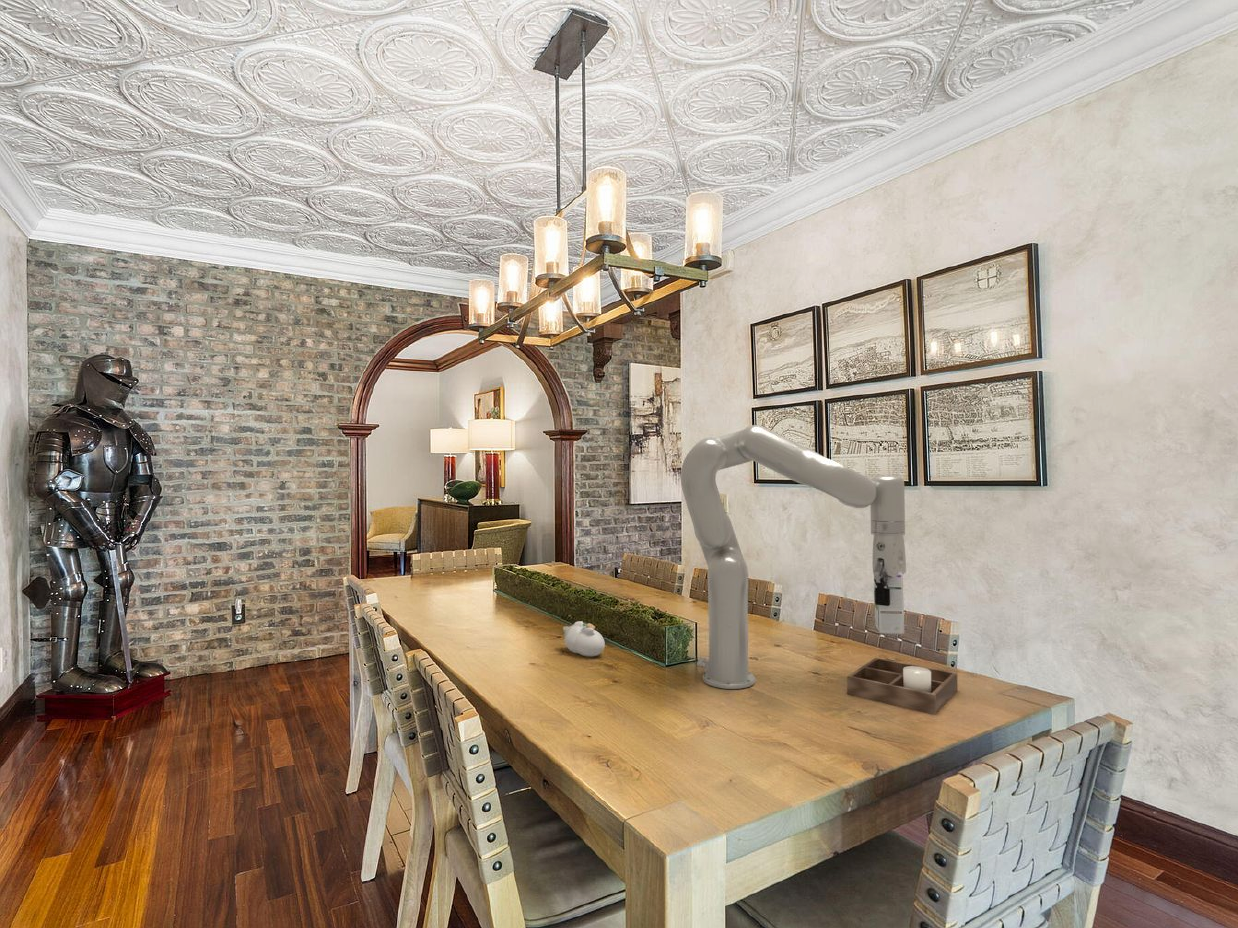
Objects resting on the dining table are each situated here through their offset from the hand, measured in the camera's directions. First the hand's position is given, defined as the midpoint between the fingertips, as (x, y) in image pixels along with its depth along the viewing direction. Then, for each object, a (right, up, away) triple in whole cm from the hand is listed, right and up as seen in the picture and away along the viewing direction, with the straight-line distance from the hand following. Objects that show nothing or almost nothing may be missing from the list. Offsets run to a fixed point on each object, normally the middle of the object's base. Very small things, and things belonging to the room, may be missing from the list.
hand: (888, 601), depth 151 cm
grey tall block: (0, -7, 0) cm, 7 cm away
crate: (+1, -20, -6) cm, 21 cm away
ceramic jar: (+1, -19, -12) cm, 23 cm away
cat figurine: (-74, -21, +30) cm, 83 cm away
